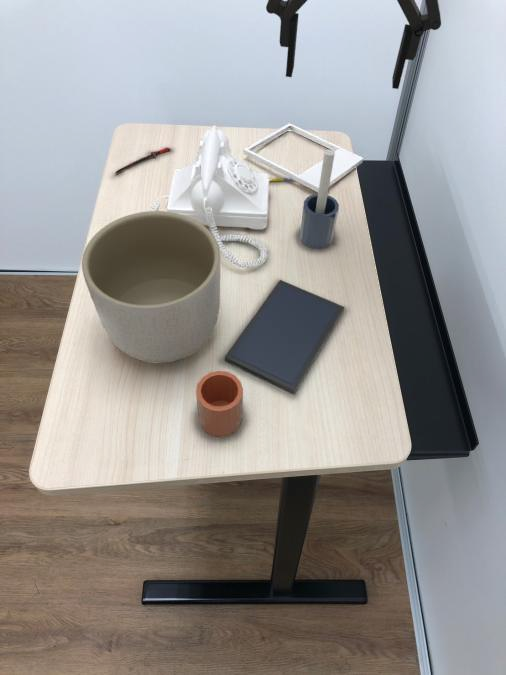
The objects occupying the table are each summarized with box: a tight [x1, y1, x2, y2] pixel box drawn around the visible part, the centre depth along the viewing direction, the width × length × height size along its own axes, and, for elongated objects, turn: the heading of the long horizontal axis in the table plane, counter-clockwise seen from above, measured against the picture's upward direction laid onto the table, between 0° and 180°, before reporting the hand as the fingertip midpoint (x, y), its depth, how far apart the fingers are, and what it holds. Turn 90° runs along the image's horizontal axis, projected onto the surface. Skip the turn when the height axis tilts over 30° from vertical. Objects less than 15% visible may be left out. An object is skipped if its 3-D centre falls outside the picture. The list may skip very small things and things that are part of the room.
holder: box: [299, 193, 340, 250], centre depth 89 cm, size 6×6×7 cm
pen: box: [269, 178, 294, 182], centre depth 100 cm, size 14×1×1 cm, turn 98°
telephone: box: [149, 124, 270, 269], centre depth 88 cm, size 25×21×12 cm
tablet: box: [224, 279, 345, 395], centre depth 79 cm, size 11×17×1 cm, turn 151°
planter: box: [81, 210, 221, 364], centre depth 73 cm, size 17×17×15 cm
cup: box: [195, 370, 244, 438], centre depth 68 cm, size 6×6×7 cm
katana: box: [114, 147, 171, 175], centre depth 102 cm, size 13×2×1 cm, turn 134°
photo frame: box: [242, 122, 364, 193], centre depth 103 cm, size 15×1×18 cm
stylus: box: [315, 149, 335, 214], centre depth 85 cm, size 2×2×16 cm
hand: (342, 77), depth 69 cm, fingers open, 13 cm apart
